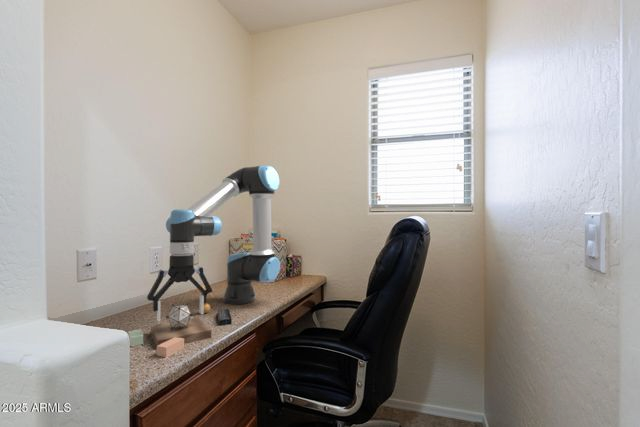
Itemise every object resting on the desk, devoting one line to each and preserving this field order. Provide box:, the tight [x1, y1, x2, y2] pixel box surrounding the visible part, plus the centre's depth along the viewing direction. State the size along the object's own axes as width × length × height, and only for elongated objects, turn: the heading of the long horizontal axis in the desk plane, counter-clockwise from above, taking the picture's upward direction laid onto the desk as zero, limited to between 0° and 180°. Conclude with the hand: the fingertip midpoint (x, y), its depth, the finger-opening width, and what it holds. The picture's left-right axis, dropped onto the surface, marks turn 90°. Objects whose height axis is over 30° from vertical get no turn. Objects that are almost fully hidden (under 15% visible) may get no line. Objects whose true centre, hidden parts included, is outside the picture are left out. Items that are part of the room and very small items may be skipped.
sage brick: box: [127, 328, 144, 347], centre depth 98 cm, size 7×4×3 cm, turn 37°
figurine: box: [194, 284, 214, 314], centre depth 128 cm, size 8×6×12 cm
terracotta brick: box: [156, 337, 185, 358], centre depth 91 cm, size 7×4×3 cm, turn 162°
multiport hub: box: [217, 308, 233, 326], centre depth 121 cm, size 4×14×2 cm, turn 21°
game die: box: [165, 302, 194, 330], centre depth 104 cm, size 9×8×10 cm
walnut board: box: [150, 317, 212, 346], centre depth 104 cm, size 16×16×2 cm
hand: (180, 316), depth 104 cm, fingers open, 13 cm apart
